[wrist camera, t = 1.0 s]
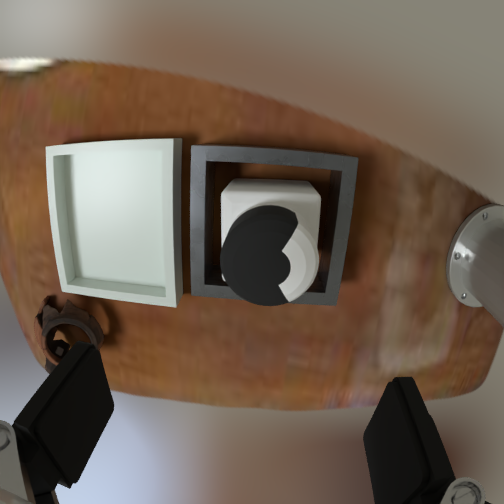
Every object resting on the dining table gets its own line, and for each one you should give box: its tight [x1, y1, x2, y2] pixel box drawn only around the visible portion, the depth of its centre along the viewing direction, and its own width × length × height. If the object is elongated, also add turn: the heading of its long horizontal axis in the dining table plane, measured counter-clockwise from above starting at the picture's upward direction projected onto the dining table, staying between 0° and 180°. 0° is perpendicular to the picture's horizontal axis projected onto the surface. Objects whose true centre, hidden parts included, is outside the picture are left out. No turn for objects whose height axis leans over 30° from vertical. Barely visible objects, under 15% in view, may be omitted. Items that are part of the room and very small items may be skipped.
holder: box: [190, 144, 358, 306], centre depth 28 cm, size 13×13×4 cm
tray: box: [46, 138, 183, 307], centre depth 29 cm, size 14×16×3 cm
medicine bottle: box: [220, 178, 321, 306], centre depth 24 cm, size 7×7×12 cm
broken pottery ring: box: [34, 296, 104, 374], centre depth 34 cm, size 12×10×8 cm
